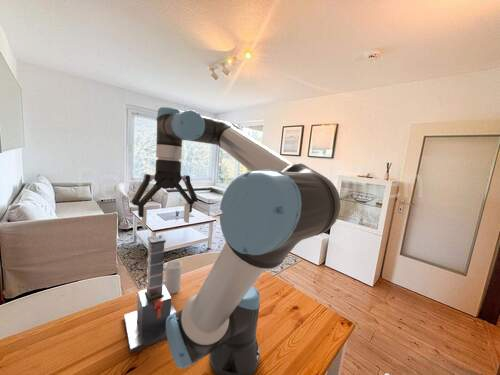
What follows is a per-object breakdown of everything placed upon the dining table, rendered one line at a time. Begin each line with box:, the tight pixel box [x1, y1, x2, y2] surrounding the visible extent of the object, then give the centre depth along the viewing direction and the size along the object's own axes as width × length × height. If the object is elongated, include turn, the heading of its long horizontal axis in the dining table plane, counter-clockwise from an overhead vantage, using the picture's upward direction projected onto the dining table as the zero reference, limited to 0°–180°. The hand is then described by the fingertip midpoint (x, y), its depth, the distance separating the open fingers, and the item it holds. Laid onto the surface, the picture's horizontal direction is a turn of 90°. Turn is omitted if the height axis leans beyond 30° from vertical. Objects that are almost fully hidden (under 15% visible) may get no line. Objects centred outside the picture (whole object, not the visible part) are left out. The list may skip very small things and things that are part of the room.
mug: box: [163, 260, 183, 295], centre depth 92 cm, size 10×7×12 cm, turn 99°
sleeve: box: [123, 284, 177, 354], centre depth 72 cm, size 16×16×12 cm
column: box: [146, 234, 167, 301], centre depth 70 cm, size 5×5×22 cm
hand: (166, 224), depth 69 cm, fingers open, 13 cm apart
